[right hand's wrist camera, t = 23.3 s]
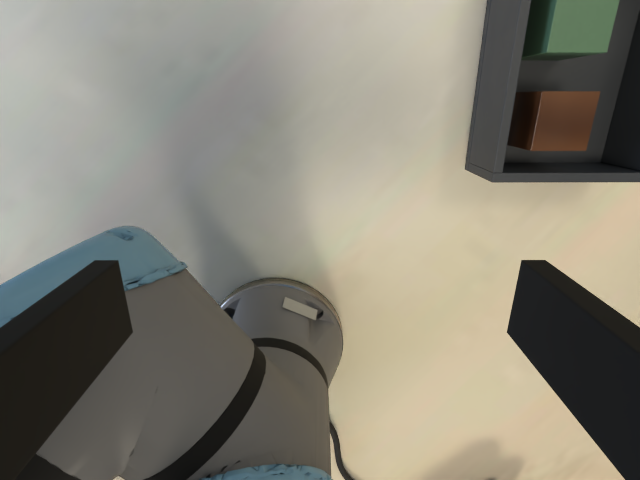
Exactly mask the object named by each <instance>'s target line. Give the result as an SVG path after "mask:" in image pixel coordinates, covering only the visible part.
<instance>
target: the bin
mask: <svg viewBox="0 0 640 480" xmlns="http://www.w3.org/2000/svg"><path fill="white" fill-rule="evenodd" d="M530 5H531V0H487V8H486V15H485V23H484V30H483V38H482V45H481V53H480V61H479V68H478V76H477V83H476V91H475V98H474V106H473V113H472V121H471V128H470V136H469V144H468V151H467V159H466V166H465V170H467V171H470V172H472V173H474V174H476V175H478V176H480V177H482V178H484V179H486V180H488V181H491V182H640V0H620V1H619V5H618V9H617V13H616V17H615V21H614V26H613V30H612V34H611V38H610V42H609V46H608V50H607V53H601V54H595V55H589V56H583V57H577V58H571V59H565V60H559V61H541V60H521V59H522V53H523V47H524V41H525V35H526V29H527V23H528V17H529V11H530ZM533 91H600V96H599V100H598V104H597V108H596V112H595V116H594V121H593V125H592V129H591V133H590V137H589V141H588V145H587V149H586V151H529V150H525V149H521V148H517V147H513V146H508V145H507V143H508V137H509V131H510V125H511V119H512V113H513V107H514V101H515V95H516V92H533Z"/></svg>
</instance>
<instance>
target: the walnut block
mask: <svg viewBox="0 0 640 480" xmlns="http://www.w3.org/2000/svg"><path fill="white" fill-rule="evenodd" d="M599 96H600V91H533V92H516V95H515V101H514V107H513V113H512V119H511V125H510V131H509V137H508V143H507V145H508V146H513V147H517V148H521V149H525V150H529V151H586V149H587V145H588V141H589V137H590V133H591V129H592V125H593V121H594V116H595V112H596V108H597V104H598V100H599Z"/></svg>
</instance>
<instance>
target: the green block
mask: <svg viewBox="0 0 640 480" xmlns="http://www.w3.org/2000/svg"><path fill="white" fill-rule="evenodd" d="M619 1H620V0H531V5H530V11H529V17H528V23H527V29H526V35H525V41H524V47H523V53H522V59H521V60H541V61H559V60H565V59H571V58H577V57H583V56H589V55H595V54H601V53H607V50H608V46H609V42H610V38H611V34H612V30H613V26H614V21H615V17H616V13H617V9H618V5H619Z"/></svg>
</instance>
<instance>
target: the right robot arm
mask: <svg viewBox="0 0 640 480" xmlns="http://www.w3.org/2000/svg"><path fill="white" fill-rule="evenodd" d="M187 267H188V266H187V265H186V264H185V263H184V262H179V261H178V260H177V259H176V258H175V257H174V256H173V255H172V254H171V253H170V252H169V251H168V250H167V249H166V248H165V247H164V246H163V245H162V244H161V243H160V242H159V241H158V240H157V239H156V238H155V237H154V236H153V235H151V234H150V233H149V232H147V231H146V230H144V229H142V228H139V227H134V226H122V227H117V228H113V229H110V230H108V231H105V232H103V233H100V234H98V235H96V236H94V237H92V238H89V239H87V240H85V241H83V242H81V243H79V244H77V245H75V246H73V247H71V248H69V249H67V250H65V251H63V252H61V253H59V254H57V255H55V256H53V257H51V258H49V259H47V260H45V261H43V262H41V263H40V264H38V265H36V266H34V267H32V268H30V269H28V270H26V271H25V272H23V273H21V274H19V275H17V276H16V277H14V278H12V279H10V280H8V281H7V282H5V283H3V284H1V285H0V480H113V479H114V478H115V477H117V476H120V477H122V478H123V479H125V480H333V479H331V456H330V433H331V436H332V439H333V442H334V449H335V457H336V463H337V466H338V469H339V471H340V473H341V474H342V476H343V477H344V479H345V480H353V479H352V478H351V477H350V476H349V475H348V473H347V472H346V470H345V469H344V467H343V464H342V460H341V452H340V444H339V439H338V436H337V433H336V431H335V429H334V427H333V425H332V424H331V422H330V421H329V397H328V388H329V385H330V383H331V381H332V379H333V376H334V374H335V372H336V369H337V367H338V365H339V362H340V359H341V355H342V350H343V336H342V327H341V323H340V320H339V317H338V315H337V313H336V311H335V309H334V308H333V306H332V305H331V304H330V302H329V301H328V300H327V299H326V298H325V297H324V296H323V295H321V294H320V293H319V292H317V291H316V290H314V289H313V288H311V287H309V286H307V285H305V284H302V283H300V282H297V281H293V280H288V279H280V278H270V279H261V280H257V281H253V282H250V283H248V284H245V285H243V286H241V287H239V288H238V289H236V290H235V291H233V292H232V293H231V294H230V295H229V296H227V298H226V299H225V300H224V301H223V302H222V304H221V305H220V306H219V305H218V303H217V302H216V301H215V300H214V299H213V298H212V297H211V296H210V295H209V294H208V293H207V291H206V290H205V289H204V288H203V287H202V286H201V285H200V284H199V283H198V282H197V280H196V279H195V278H194V277H193V276H192V275H191V274H190V273H189V272H188V271H187V270H186V268H187ZM507 333H508V334H509V335H510V337H511V338H512V339H513V340H514V342H515V343H516V344H517V345H518V347H519V348H520V349H521V350H522V352H523V353H524V354H525V355H526V357H527V358H528V359H529V360H530V362H531V363H532V364H533V365H534V367H535V368H536V369H537V370H538V372H539V373H540V374H541V375H542V377H543V378H544V379H545V380H546V382H547V383H548V384H549V385H550V387H551V388H552V389H553V390H554V392H555V393H556V394H557V395H558V397H559V398H560V399H561V400H562V401H563V403H564V404H565V405H566V406H567V408H568V409H569V410H570V411H571V413H572V414H573V415H574V416H575V418H576V419H577V420H578V421H579V423H580V424H581V425H582V426H583V428H584V429H585V430H586V431H587V433H588V434H589V435H590V436H591V438H592V439H593V440H594V441H595V443H596V444H597V445H598V446H599V448H600V449H601V450H602V451H603V453H604V454H605V455H606V456H607V458H608V459H609V460H610V461H611V463H612V464H613V465H614V466H615V468H616V469H617V470H618V471H619V472H620V474H621V475H622V476H623V477H624V479H625V480H640V328H639V327H638V326H637V325H635V324H634V323H632V322H631V321H630V320H628V319H627V318H625V317H624V316H623V315H621V314H620V313H618V312H617V311H616V310H614V309H613V308H611V307H610V306H609V305H607V304H606V303H604V302H603V301H602V300H600V299H599V298H597V297H596V296H595V295H593V294H592V293H590V292H589V291H588V290H586V289H585V288H583V287H582V286H581V285H579V284H578V283H576V282H575V281H574V280H572V279H571V278H569V277H568V276H567V275H565V274H564V273H562V272H561V271H560V270H558V269H557V268H555V267H554V266H553V265H551V264H550V263H548V262H547V261H546V260H522V261H521V266H520V271H519V276H518V281H517V285H516V290H515V295H514V300H513V305H512V310H511V315H510V320H509V325H508V330H507Z"/></svg>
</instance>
